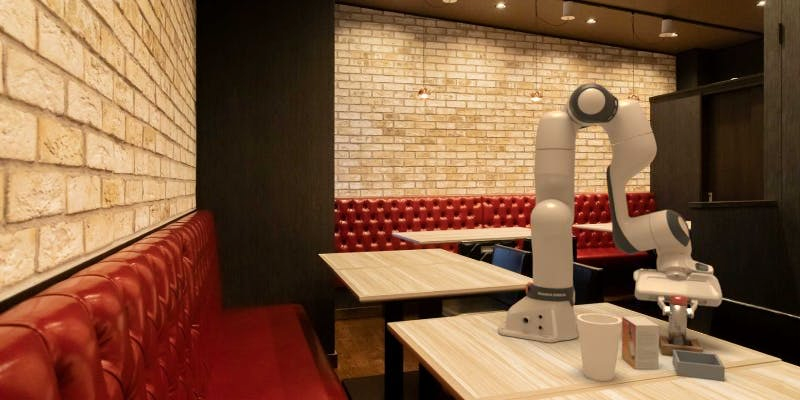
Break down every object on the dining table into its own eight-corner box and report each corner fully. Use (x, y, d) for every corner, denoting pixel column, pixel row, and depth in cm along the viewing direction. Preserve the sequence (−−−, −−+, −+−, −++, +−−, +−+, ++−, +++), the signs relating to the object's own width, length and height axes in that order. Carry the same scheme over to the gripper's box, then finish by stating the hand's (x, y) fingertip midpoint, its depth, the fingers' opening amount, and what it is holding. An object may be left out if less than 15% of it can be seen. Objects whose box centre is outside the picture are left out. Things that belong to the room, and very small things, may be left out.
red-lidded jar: (669, 343, 133) (670, 297, 132) (667, 339, 136) (669, 294, 136) (686, 345, 131) (688, 298, 131) (684, 341, 135) (686, 295, 134)
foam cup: (597, 386, 111) (598, 326, 111) (567, 372, 120) (568, 316, 119) (630, 379, 115) (631, 321, 115) (599, 366, 124) (599, 311, 123)
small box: (621, 358, 129) (621, 316, 129) (644, 358, 129) (644, 316, 129) (634, 369, 121) (635, 324, 121) (659, 369, 121) (659, 324, 121)
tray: (677, 375, 117) (677, 361, 117) (672, 362, 126) (672, 349, 126) (724, 381, 114) (724, 367, 114) (716, 367, 122) (716, 354, 122)
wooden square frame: (661, 355, 131) (661, 345, 131) (658, 344, 139) (658, 335, 139) (702, 359, 128) (702, 349, 128) (697, 348, 136) (697, 339, 136)
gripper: (633, 261, 143) (634, 304, 134) (719, 267, 136) (726, 313, 127) (632, 274, 147) (633, 317, 139) (715, 281, 140) (721, 326, 131)
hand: (678, 315), depth 133 cm, fingers closed on red-lidded jar, 4 cm apart
